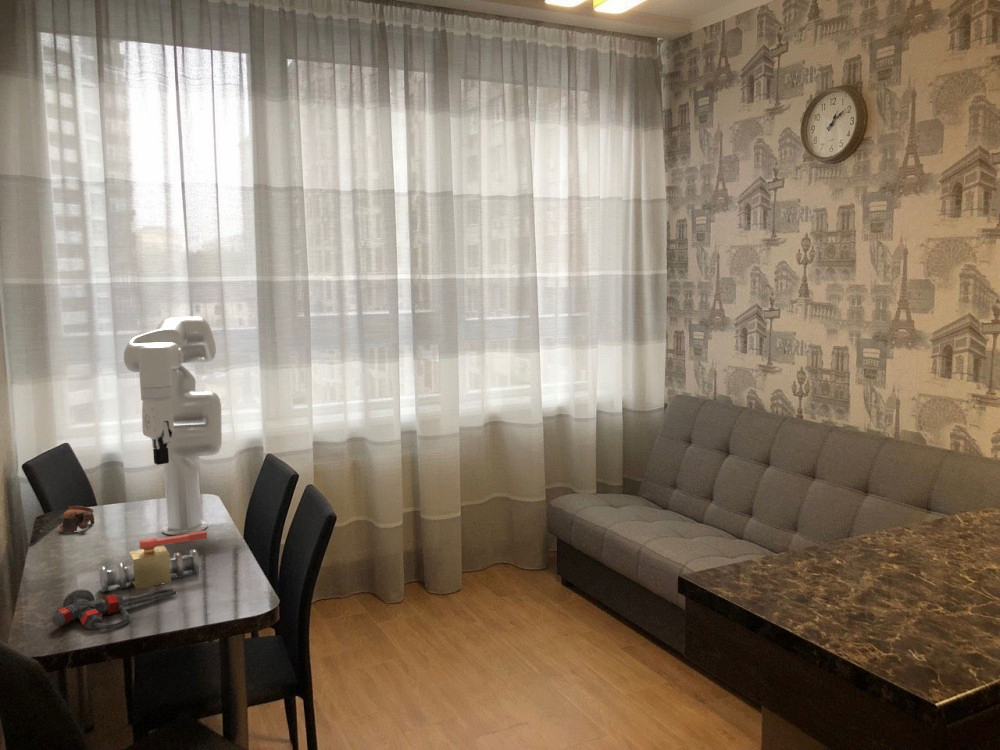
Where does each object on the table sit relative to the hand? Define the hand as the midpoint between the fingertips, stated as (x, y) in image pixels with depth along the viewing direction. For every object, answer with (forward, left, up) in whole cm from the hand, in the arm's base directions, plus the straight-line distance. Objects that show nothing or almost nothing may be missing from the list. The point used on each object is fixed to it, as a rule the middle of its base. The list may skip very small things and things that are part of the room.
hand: (161, 463), depth 206 cm
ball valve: (+11, -6, -27) cm, 30 cm away
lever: (+11, 0, -18) cm, 21 cm away
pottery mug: (-50, -17, -27) cm, 59 cm away
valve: (+29, -15, -28) cm, 43 cm away
